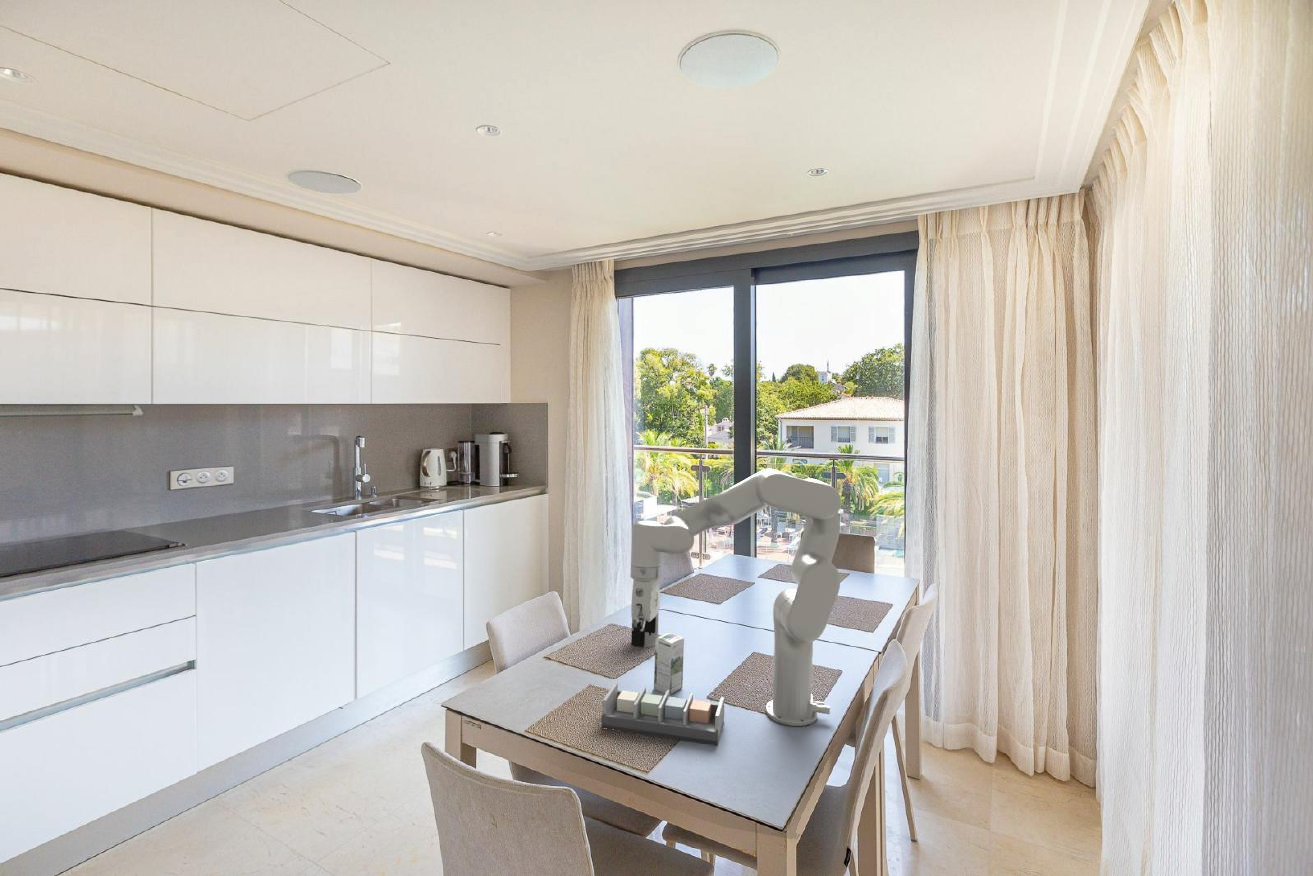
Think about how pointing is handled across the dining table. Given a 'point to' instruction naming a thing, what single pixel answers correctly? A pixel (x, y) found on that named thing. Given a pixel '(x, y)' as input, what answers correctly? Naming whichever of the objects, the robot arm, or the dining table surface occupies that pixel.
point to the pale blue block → (675, 708)
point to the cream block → (626, 701)
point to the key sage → (650, 704)
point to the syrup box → (668, 663)
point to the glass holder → (651, 635)
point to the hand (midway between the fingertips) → (643, 639)
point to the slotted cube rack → (662, 720)
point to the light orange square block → (700, 711)
